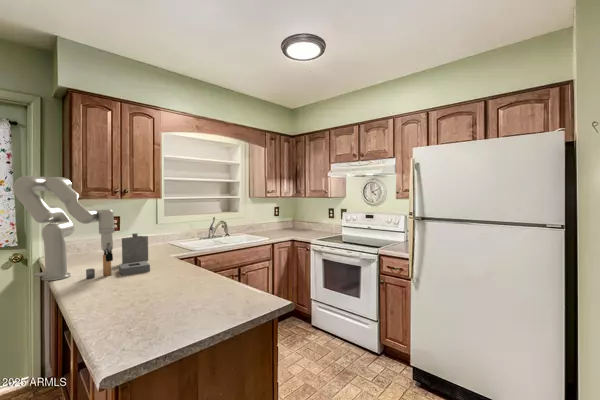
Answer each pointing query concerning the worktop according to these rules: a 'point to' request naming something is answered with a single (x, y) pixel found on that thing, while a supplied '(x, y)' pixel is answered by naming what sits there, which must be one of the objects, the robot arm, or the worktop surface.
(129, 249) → the hip flask
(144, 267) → the hole block
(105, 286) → the worktop surface
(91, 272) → the short pin
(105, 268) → the long pin
